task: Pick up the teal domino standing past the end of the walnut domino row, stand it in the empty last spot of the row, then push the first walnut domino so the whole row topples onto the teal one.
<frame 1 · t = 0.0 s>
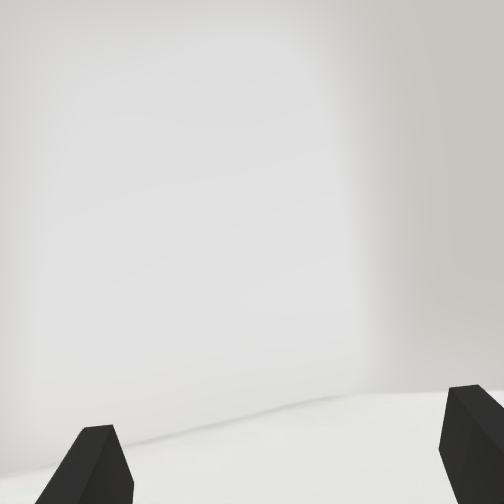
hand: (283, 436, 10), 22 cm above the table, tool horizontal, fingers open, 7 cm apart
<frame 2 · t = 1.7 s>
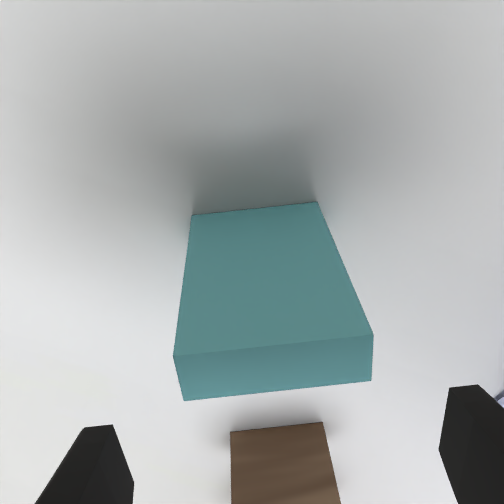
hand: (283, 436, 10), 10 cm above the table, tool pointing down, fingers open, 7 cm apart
teal domino: (256, 226, 19), on the table
walnut domino 4: (277, 436, 25), on the table
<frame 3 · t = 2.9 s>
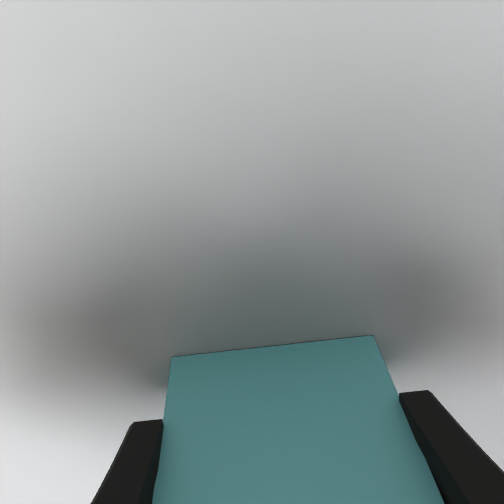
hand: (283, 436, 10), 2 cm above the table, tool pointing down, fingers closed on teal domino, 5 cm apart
teal domino: (274, 369, 12), on the table, touching gripper
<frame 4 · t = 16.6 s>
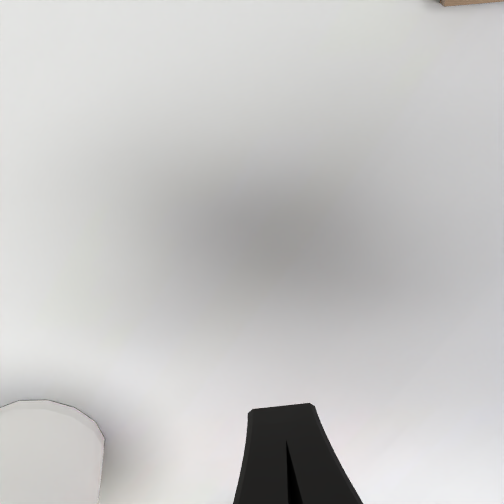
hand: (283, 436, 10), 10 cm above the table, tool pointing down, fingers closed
foam cup: (46, 437, 25), on the table
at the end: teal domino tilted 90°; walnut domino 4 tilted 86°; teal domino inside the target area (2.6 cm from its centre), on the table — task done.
